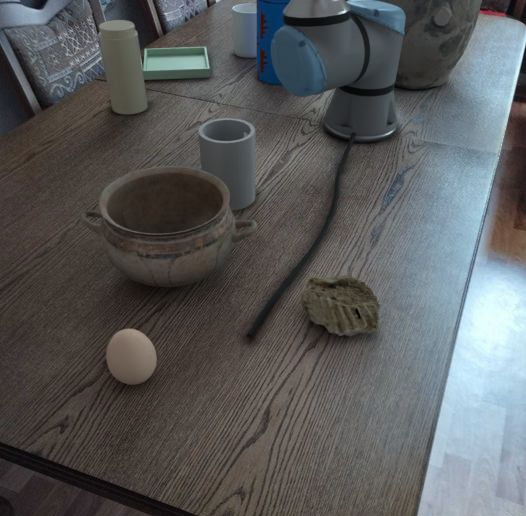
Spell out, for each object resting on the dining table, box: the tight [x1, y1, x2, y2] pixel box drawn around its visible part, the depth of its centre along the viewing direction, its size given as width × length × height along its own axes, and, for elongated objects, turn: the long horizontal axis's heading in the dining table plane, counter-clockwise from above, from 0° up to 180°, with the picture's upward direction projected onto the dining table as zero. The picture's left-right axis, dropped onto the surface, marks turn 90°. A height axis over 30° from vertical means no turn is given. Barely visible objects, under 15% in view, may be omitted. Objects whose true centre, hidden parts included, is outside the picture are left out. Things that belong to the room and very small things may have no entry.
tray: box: [142, 46, 211, 81], centre depth 140 cm, size 16×16×2 cm
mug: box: [231, 3, 257, 59], centre depth 146 cm, size 9×12×11 cm
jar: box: [97, 19, 149, 115], centre depth 118 cm, size 8×8×16 cm
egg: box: [105, 328, 158, 386], centre depth 65 cm, size 6×6×8 cm
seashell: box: [300, 275, 381, 337], centre depth 73 cm, size 11×7×10 cm
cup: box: [197, 117, 256, 212], centre depth 93 cm, size 9×9×12 cm
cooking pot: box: [79, 165, 258, 288], centre depth 78 cm, size 25×19×12 cm
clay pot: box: [376, 0, 483, 90], centre depth 126 cm, size 22×23×30 cm
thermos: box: [256, 0, 291, 85], centre depth 128 cm, size 11×11×25 cm
